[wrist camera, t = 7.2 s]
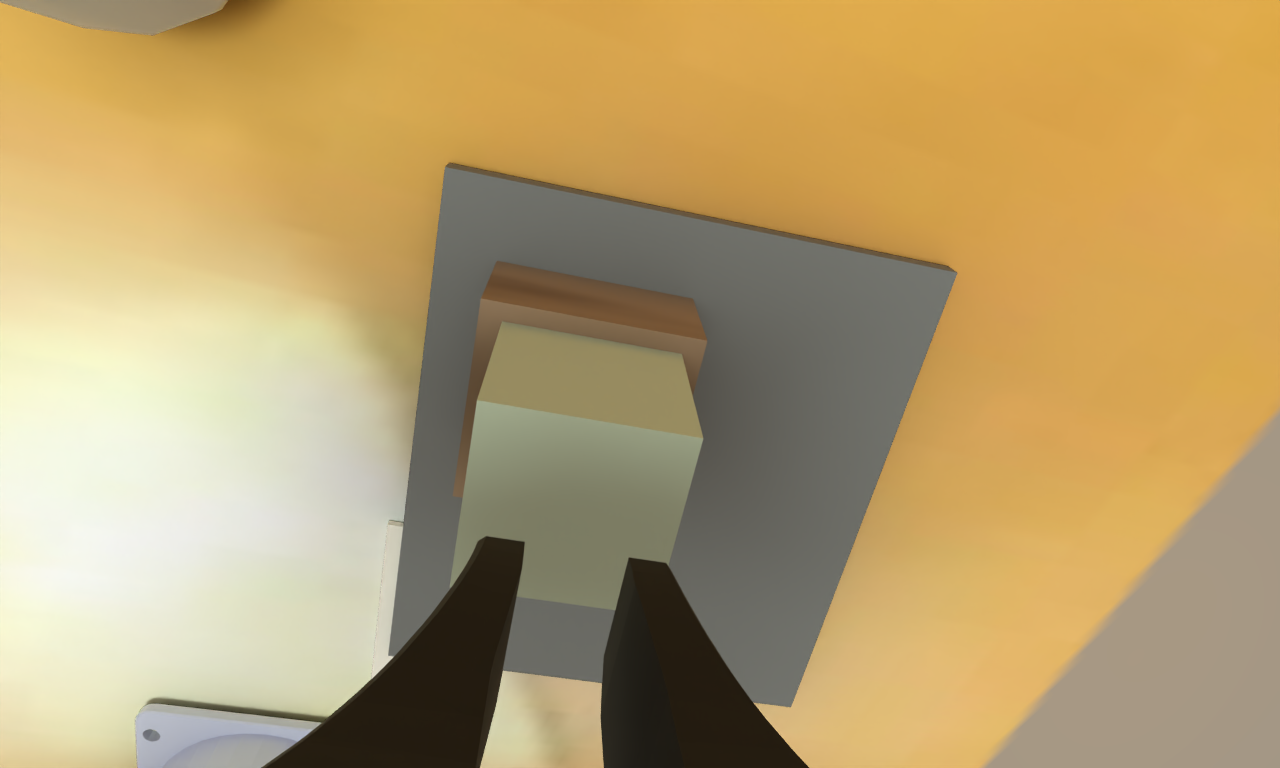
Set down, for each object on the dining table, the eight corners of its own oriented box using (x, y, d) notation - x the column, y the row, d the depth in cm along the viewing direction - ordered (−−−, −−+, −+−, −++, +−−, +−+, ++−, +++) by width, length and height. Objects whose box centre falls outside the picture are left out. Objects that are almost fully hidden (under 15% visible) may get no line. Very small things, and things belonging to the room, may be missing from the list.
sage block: (644, 504, 20) (654, 616, 16) (478, 478, 19) (449, 587, 15) (681, 353, 18) (703, 438, 14) (501, 321, 17) (477, 400, 14)
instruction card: (497, 691, 26) (496, 698, 26) (372, 676, 26) (370, 683, 26) (525, 540, 24) (524, 546, 24) (389, 520, 24) (386, 526, 23)
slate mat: (786, 693, 27) (790, 707, 26) (392, 641, 25) (387, 655, 25) (948, 266, 21) (957, 272, 21) (449, 163, 20) (445, 166, 19)
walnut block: (650, 466, 23) (657, 528, 20) (470, 437, 22) (452, 496, 19) (692, 298, 21) (707, 341, 18) (496, 260, 20) (480, 298, 17)
